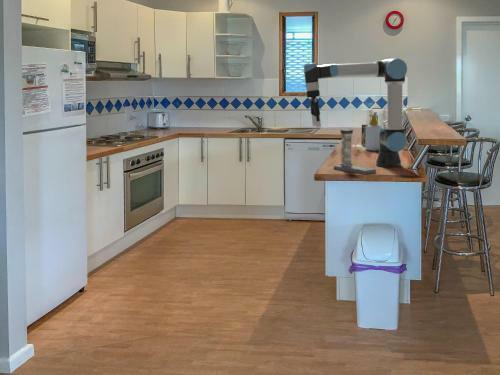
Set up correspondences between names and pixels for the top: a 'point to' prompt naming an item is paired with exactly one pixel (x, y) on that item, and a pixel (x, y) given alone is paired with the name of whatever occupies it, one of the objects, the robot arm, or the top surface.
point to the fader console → (355, 169)
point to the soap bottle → (372, 135)
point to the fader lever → (346, 148)
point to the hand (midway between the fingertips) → (316, 126)
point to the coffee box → (363, 135)
